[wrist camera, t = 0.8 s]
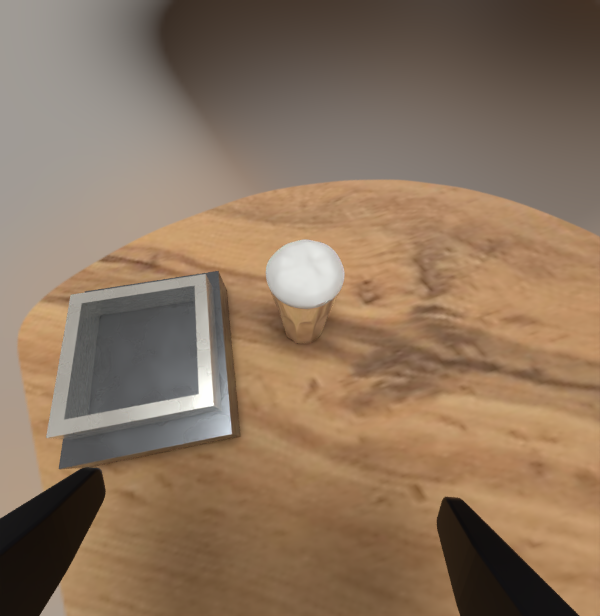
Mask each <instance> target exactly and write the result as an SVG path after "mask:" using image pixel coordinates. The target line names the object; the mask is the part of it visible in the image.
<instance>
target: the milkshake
mask: <svg viewBox="0 0 600 616" xmlns="http://www.w3.org/2000/svg"><path fill="white" fill-rule="evenodd" d="M266 279H267V283H268V286H269V288H270V291H271V293H272V296H273V299H274V301H275V304H276V306H277V308H278V311H279V314H280V317H281V321H282V324H283V327H284V330H285V332H286V335H287V337H288V338H290V339H291V340H293V341H294V342H296V343H297V344H304V343H311V342H313V341H314V340H315V339H317V338H318V337H319V336H320V335H321V333H322V330H323V328H324V325H325V323H326V320H327V318H328V315H329V313H330V310H331V308H332V306H333V304H334V302H335V300H336V298H337V296H338V294H339V292H340V290H341V288H342V285H343V282H344V268H343V265H342V263H341V260H340V258H339V256H338V255H337V254H336V252H335V251H334V250H333V249H332V248H331V247H329V246H328V245H326V244H324V243H321V242H316V241H312V240H299V241H295V242H291V243H288V244H286V245H284V246H283V247H281V248H280V249H279V250H277V251H276V252H275V253H274V255H273V256H272V257H271V258H270V260H269V261H268V263H267V267H266Z"/></svg>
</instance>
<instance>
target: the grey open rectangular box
mask: <svg viewBox="0 0 600 616" xmlns="http://www.w3.org/2000/svg"><path fill="white" fill-rule="evenodd" d="M235 437H240V426H239V416H238V405H237V395H236V384H235V373H234V363H233V352H232V342H231V331H230V321H229V310H228V299H227V290H226V287H225V285H224V283H223V281H222V278H221V276H220V274H219V271H215V272H209V273H202V274H196V275H189V276H183V277H176V278H170V279H163V280H157V281H150V282H144V283H137V284H131V285H124V286H118V287H111V288H105V289H98V290H92V291H86V292H85V293H80V294H73V295H71V296H70V302H69V308H68V314H67V320H66V326H65V331H64V337H63V343H62V349H61V355H60V360H59V366H58V372H57V378H56V384H55V390H54V395H53V401H52V407H51V413H50V419H49V424H48V430H47V436H46V438H53V439H63V444H62V450H61V457H60V464H59V469H69V468H84V467H94V466H99V465H103V464H108V463H113V462H118V461H123V460H128V459H133V458H138V457H142V456H147V455H152V454H157V453H162V452H167V451H172V450H177V449H181V448H186V447H191V446H196V445H201V444H206V443H211V442H216V441H220V440H225V439H230V438H235Z"/></svg>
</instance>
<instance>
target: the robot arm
mask: <svg viewBox="0 0 600 616" xmlns="http://www.w3.org/2000/svg"><path fill="white" fill-rule="evenodd" d="M105 492H106V491H105V485H104V480H103V475H102V471H101V470H100V469H99V468H91V467H85V468H82V469H80V470H78V471H76V472H75V473H73V474H72V475H70V476H68V477H67V478H65V479H63V480H62V481H60V482H59V483H57V484H55V485H54V486H52V487H51V488H49V489H47V490H46V491H44V492H42V493H41V494H39V495H38V496H36V497H34V498H33V499H31V500H30V501H28V502H26V503H25V504H23V505H21V506H20V507H18V508H16V509H15V510H13V511H12V512H10V513H8V514H7V515H5V516H4V517H2V518H0V616H39V615H40V614H41V612H42V611H43V609H44V607H45V606H46V604H47V603H48V601H49V599H50V597H51V596H52V594H53V593H54V591H55V590H56V588H57V586H58V585H59V583H60V581H61V580H62V578H63V576H64V575H65V573H66V571H67V570H68V568H69V566H70V564H71V562H72V561H73V559H74V557H75V555H76V553H77V551H78V549H79V547H80V545H81V543H82V541H83V539H84V537H85V536H86V534H87V532H88V530H89V528H90V526H91V524H92V522H93V520H94V518H95V516H96V514H97V512H98V510H99V508H100V507H101V505H102V503H103V500H104V498H105ZM437 529H438V534H439V538H440V541H441V545H442V549H443V553H444V557H445V561H446V565H447V569H448V573H449V577H450V581H451V585H452V589H453V593H454V596H455V600H456V603H457V607H458V610H459V613H460V616H579V615H578V614H577V613H576V612H575V611H574V610H573V609H572V608H571V607H570V606H569V605H568V604H567V603H566V602H565V601H564V600H563V599H562V598H561V597H560V596H559V595H558V594H557V593H556V592H555V591H554V590H553V589H552V588H551V587H550V586H549V585H548V584H547V583H546V582H545V581H544V580H543V579H542V578H541V577H540V576H539V575H538V574H537V573H536V572H535V571H534V570H533V569H532V568H531V567H530V566H529V565H528V564H527V563H526V562H525V561H524V560H523V559H522V558H521V557H520V556H519V555H518V554H517V553H516V552H515V551H514V550H513V549H512V548H511V547H510V546H509V545H508V544H507V543H506V542H505V541H504V540H503V539H502V538H501V537H500V536H499V535H498V534H497V533H496V532H495V531H494V530H493V529H492V528H491V527H490V526H489V525H488V524H487V523H486V522H484V521H483V520H482V519H481V518H480V517H479V516H478V515H477V514H476V513H475V512H474V511H473V510H472V509H471V508H470V507H469V506H468V505H467V504H466V503H465V502H464V501H463V500H462V499H460V498H455V497H444V498H443V500H442V503H441V506H440V510H439V513H438V517H437Z"/></svg>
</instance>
